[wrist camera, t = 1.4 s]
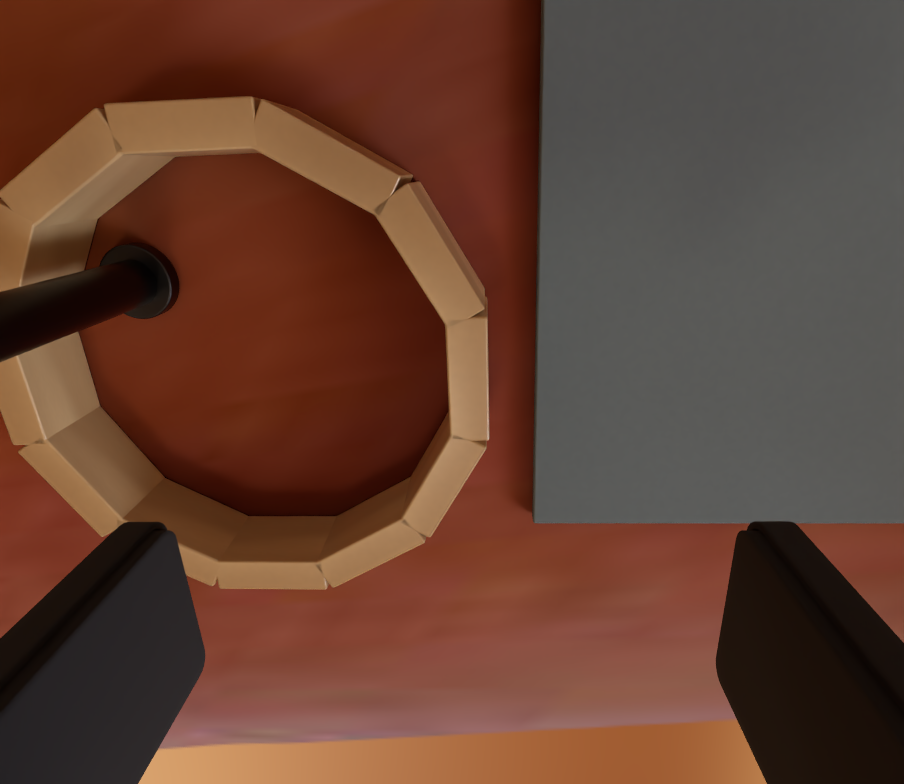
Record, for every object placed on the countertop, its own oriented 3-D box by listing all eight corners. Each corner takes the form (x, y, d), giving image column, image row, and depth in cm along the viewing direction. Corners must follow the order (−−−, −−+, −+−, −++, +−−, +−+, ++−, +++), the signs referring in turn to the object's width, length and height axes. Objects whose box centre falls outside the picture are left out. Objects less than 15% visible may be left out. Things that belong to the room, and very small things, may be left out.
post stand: (99, 243, 20) (-324, 325, 9) (171, 241, 20) (-181, 322, 9) (118, 316, 21) (-246, 462, 10) (186, 314, 20) (-116, 461, 10)
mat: (542, -97, 15) (544, -107, 15) (1338, -154, 14) (1373, -168, 14) (532, 515, 23) (533, 524, 22) (1054, 514, 22) (1069, 524, 21)
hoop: (-21, 122, 18) (-111, 114, 16) (484, 96, 17) (483, 83, 15) (112, 540, 25) (64, 588, 22) (491, 541, 23) (491, 591, 21)
